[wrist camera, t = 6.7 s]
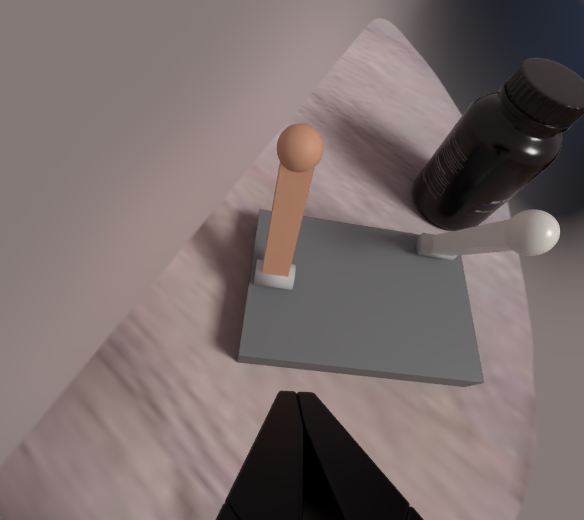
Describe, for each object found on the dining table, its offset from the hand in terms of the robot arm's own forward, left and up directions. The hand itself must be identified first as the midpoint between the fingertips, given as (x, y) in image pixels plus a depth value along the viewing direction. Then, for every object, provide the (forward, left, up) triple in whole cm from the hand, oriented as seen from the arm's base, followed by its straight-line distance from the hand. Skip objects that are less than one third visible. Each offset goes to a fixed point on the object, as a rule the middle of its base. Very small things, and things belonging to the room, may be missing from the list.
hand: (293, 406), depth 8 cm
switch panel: (+9, -6, -14) cm, 17 cm away
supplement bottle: (+19, -15, -14) cm, 28 cm away
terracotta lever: (+8, 0, -11) cm, 14 cm away
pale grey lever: (+12, -11, -11) cm, 20 cm away
